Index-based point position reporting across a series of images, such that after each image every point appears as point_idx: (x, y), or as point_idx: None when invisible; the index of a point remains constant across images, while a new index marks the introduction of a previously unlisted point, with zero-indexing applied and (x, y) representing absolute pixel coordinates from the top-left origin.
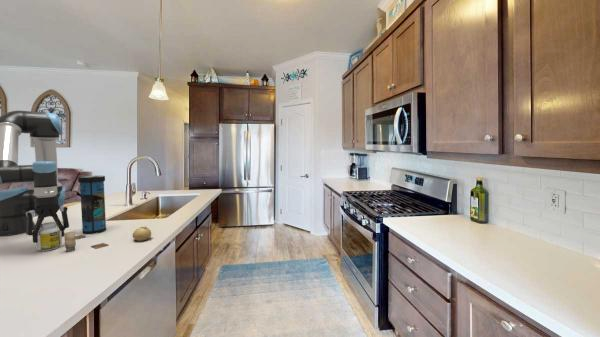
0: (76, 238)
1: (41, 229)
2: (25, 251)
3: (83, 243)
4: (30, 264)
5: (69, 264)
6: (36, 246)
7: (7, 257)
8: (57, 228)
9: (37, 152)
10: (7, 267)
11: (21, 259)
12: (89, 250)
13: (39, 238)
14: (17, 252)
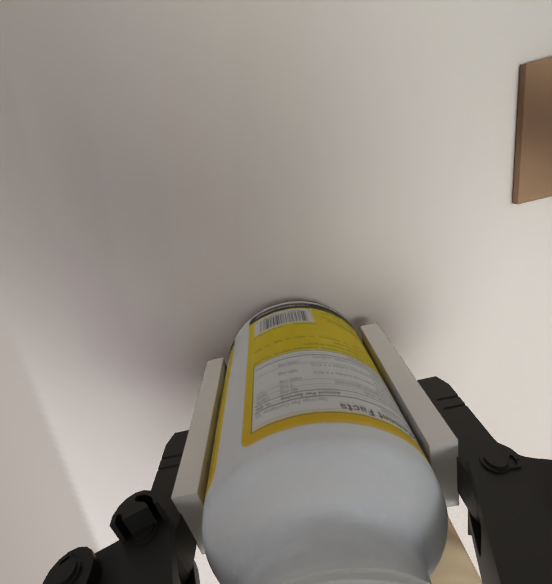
0: (547, 187)
1: (236, 563)
2: (130, 292)
3: (506, 380)
4: (197, 554)
5: None
6: (204, 380)
7: (37, 364)
8: (439, 560)
9: None
10: (101, 535)
11: (141, 461)
12: (461, 529)
13: None
14: (72, 275)
